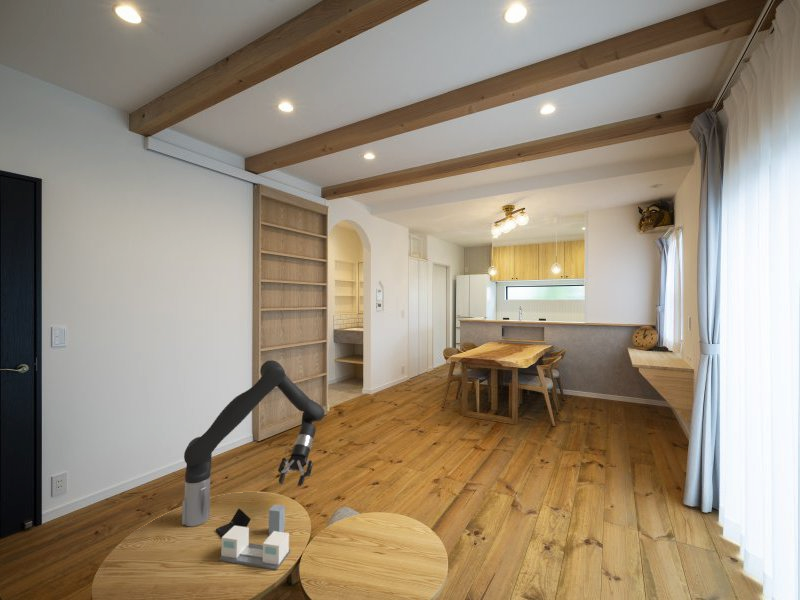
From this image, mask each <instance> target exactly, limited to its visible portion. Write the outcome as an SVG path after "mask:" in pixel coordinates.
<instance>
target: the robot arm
mask: <svg viewBox="0 0 800 600" xmlns="http://www.w3.org/2000/svg"><path fill="white" fill-rule="evenodd" d="M260 366H261V367H260V371H259V372H260V376H261V377H260V378H259V379H258V381H256V382H255V384H254V385H252V386H251V387H250V388H248V389H247V390H246V391H244V392H242V393H239V395H237V396H235V397H234V398H233V399H232V400H231V401H230V402H229V403H228V404H227V405H226V406H225V407H224V408H223V410H221V411H220V413H219V414H218V416H217V417H216V418H215V419H214V421H213V422H212V424H211V425H210V426H209V427H208V429H207V430H206V431H205V432H204V433H203V434H202V435H201V436H197V437H195V438H193V439H192V440H191V441H190V442H189V443H188V445H187V446H186V449H185V451H184V454H183V458H184V459H183V460H184V462H185V463H186V467H185V474H184V498H183V500H182V507H181V508H182V509H181V510H182V511H181V512H182V513H181V526H187V527H198V526H200V525H202V524H204V523H206V522H207V521H208V520H209V519H210V512H211V505H210V504H211V471H212V459H213V458H212V456H213V455H212V454H213V452H214V451H215V449H216V448H217V447H218V445H219V444H220V443H221V442H222V441H223V440H224V439H225V438H226V437H227V436H229V435H230V434H231V432H233V430H235V428H237V427H238V426H239V425H240V424H241V423H242V422H243V421H244V420H245V419H246V418H247V416H248V415H249V414H250V413H251V412H252V411H253V410H254V409H255V408H256V407H257V406H258V404H260V403H261V402H262V400H263V399H264V398H265V397H266V396H267V395H268V394H270V393H271V392H272V391H273V390H274V389H275V388H278V389H279V390H280V391H281V392H282V393H283V395H284V396H285V397H286V398H287V400H288V401H289V402H290V403H291V404H292V405H293V406H294V407H295V408H296V409H297V410H298V411H299V412H302V416H301V427H300V430H299V433H298V435H297V437H296V440H295V443H294V445H293V448H292V450H291V453H290V457H289V458H285V457H282V459H281V461H280V464H279V466H278V469H277V471H278V473H279V478H278V482H279V484H280V485H283V483H284V481H285V478H286V475H287V474H288V473H290V472H291V471H292V472H294V471H296V472H299V473H301V475H300V476H299V480H298V483H297V486H298V487H302V486H303V485H304V481H305V478H307V477H311V473H312V470H313V465H314V463H313V461H312V459H311V460H310V459H309V455H310V452H311V449H312V446H313V441H314V438H315V434H316V432H317V428H316V425H314V424H313V422H319V421H321V420H323V419H324V417H325V410H324V408H323V406H322V405H321V404H319V403H318V402H316V401H314V400H312V399H311V398H309V396H308V395H306V394H305V393H304V391H302V389H300V388H299V386H297V385H296V384H295V383H294V382H293V381H292V380H291V379H290V378H289V376H287V374H286V371H285V369H284V367H283V366H282V365H281V364H280V363H279V362H278V361H276V360H271V359H269V360H266V361H265V362H264V363H263V364H262V365H260ZM308 459H309V460H308ZM306 466H307V467H306ZM305 467H306V471H305Z"/></svg>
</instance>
